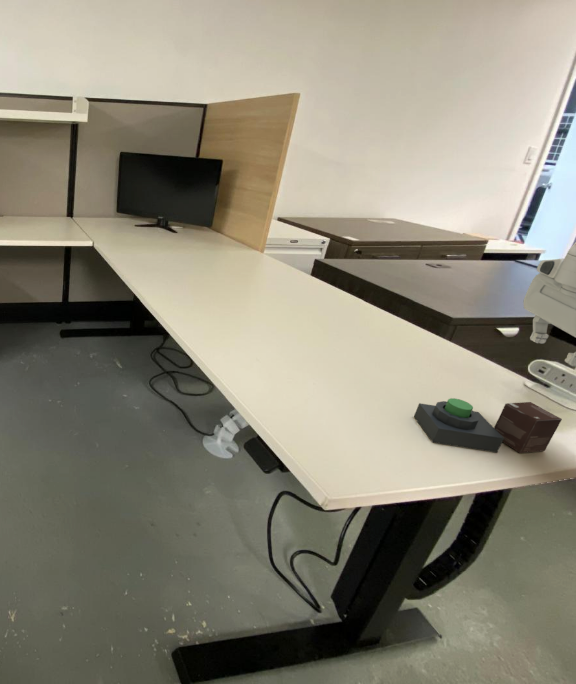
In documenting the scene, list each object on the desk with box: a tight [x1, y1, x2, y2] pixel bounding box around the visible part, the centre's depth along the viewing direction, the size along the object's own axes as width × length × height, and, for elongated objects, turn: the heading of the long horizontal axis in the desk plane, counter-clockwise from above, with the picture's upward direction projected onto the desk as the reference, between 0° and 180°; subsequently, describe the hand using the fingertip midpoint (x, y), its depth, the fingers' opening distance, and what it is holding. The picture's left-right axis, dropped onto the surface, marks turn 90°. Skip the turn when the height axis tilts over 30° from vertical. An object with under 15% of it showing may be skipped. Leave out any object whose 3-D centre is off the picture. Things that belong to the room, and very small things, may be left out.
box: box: [493, 401, 562, 454], centre depth 87 cm, size 6×6×7 cm
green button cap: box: [444, 397, 474, 418], centre depth 88 cm, size 4×4×2 cm
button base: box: [413, 400, 504, 453], centre depth 89 cm, size 11×9×5 cm
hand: (553, 352), depth 81 cm, fingers open, 8 cm apart
